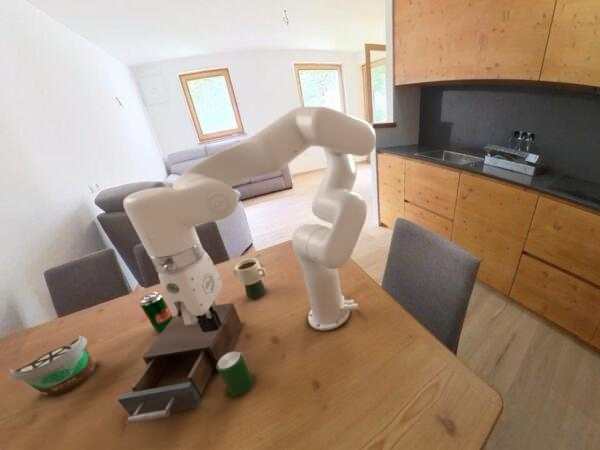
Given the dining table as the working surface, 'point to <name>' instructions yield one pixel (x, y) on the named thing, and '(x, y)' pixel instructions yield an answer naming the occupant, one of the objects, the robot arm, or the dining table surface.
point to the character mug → (251, 277)
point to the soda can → (156, 310)
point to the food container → (58, 369)
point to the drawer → (168, 386)
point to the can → (234, 373)
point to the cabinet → (197, 337)
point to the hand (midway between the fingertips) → (212, 328)
